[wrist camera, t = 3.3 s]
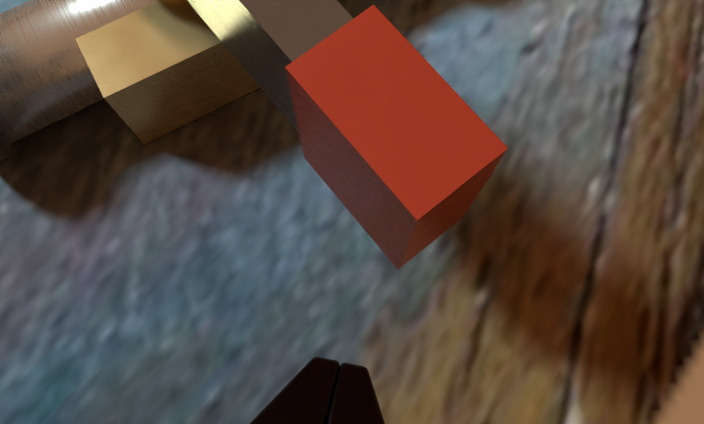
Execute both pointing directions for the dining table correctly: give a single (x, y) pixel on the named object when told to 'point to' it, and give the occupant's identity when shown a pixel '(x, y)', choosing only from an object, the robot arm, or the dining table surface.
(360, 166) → the lever
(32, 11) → the valve body
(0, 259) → the dining table surface
